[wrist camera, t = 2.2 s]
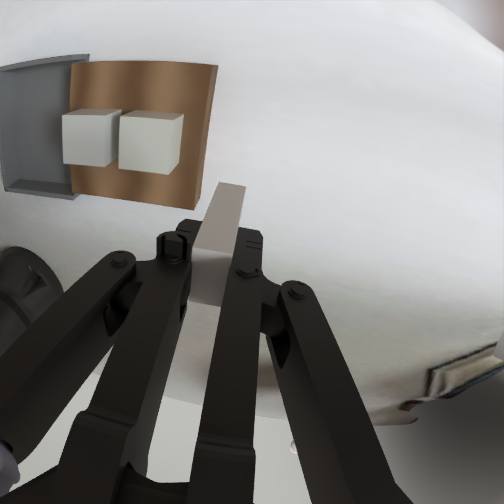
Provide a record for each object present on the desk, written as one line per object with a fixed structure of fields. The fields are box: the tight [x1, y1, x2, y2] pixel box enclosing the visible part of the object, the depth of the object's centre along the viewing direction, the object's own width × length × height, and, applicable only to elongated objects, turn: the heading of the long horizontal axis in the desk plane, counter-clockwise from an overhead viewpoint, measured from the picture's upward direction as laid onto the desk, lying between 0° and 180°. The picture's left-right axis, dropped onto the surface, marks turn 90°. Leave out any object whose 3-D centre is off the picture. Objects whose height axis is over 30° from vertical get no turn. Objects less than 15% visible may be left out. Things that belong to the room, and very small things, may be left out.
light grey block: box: [62, 108, 122, 167], centre depth 26 cm, size 5×5×4 cm
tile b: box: [119, 110, 184, 175], centre depth 26 cm, size 5×5×4 cm
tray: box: [0, 54, 90, 200], centre depth 28 cm, size 12×17×4 cm
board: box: [70, 61, 218, 210], centre depth 29 cm, size 15×15×4 cm
